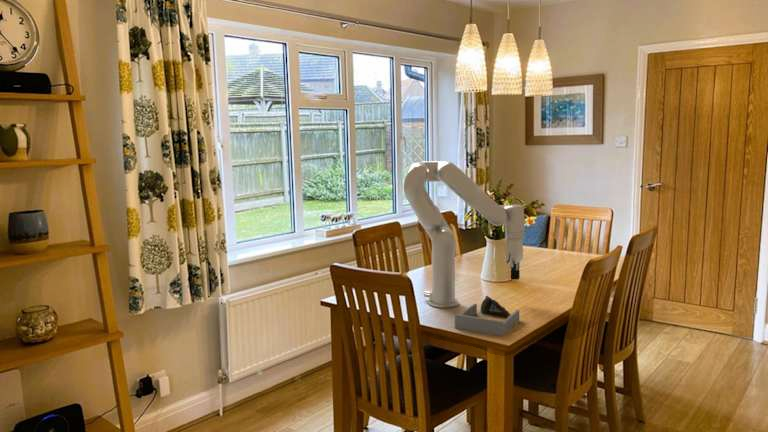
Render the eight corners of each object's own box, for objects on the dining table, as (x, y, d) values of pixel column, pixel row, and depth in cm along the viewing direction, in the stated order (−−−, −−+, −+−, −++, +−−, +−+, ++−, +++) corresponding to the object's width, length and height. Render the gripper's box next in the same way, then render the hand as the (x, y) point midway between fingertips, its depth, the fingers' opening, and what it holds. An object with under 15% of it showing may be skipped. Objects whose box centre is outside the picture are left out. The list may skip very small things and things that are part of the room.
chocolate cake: (517, 316, 224) (500, 290, 229) (510, 315, 218) (493, 289, 223) (498, 330, 227) (482, 304, 232) (491, 330, 221) (475, 304, 227)
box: (454, 327, 210) (454, 314, 209) (474, 313, 226) (474, 300, 225) (502, 336, 201) (502, 322, 200) (519, 320, 217) (519, 307, 216)
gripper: (511, 231, 242) (512, 273, 245) (499, 237, 230) (500, 282, 232) (529, 232, 239) (529, 275, 241) (517, 238, 226) (518, 284, 229)
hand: (515, 278), depth 237 cm, fingers closed
